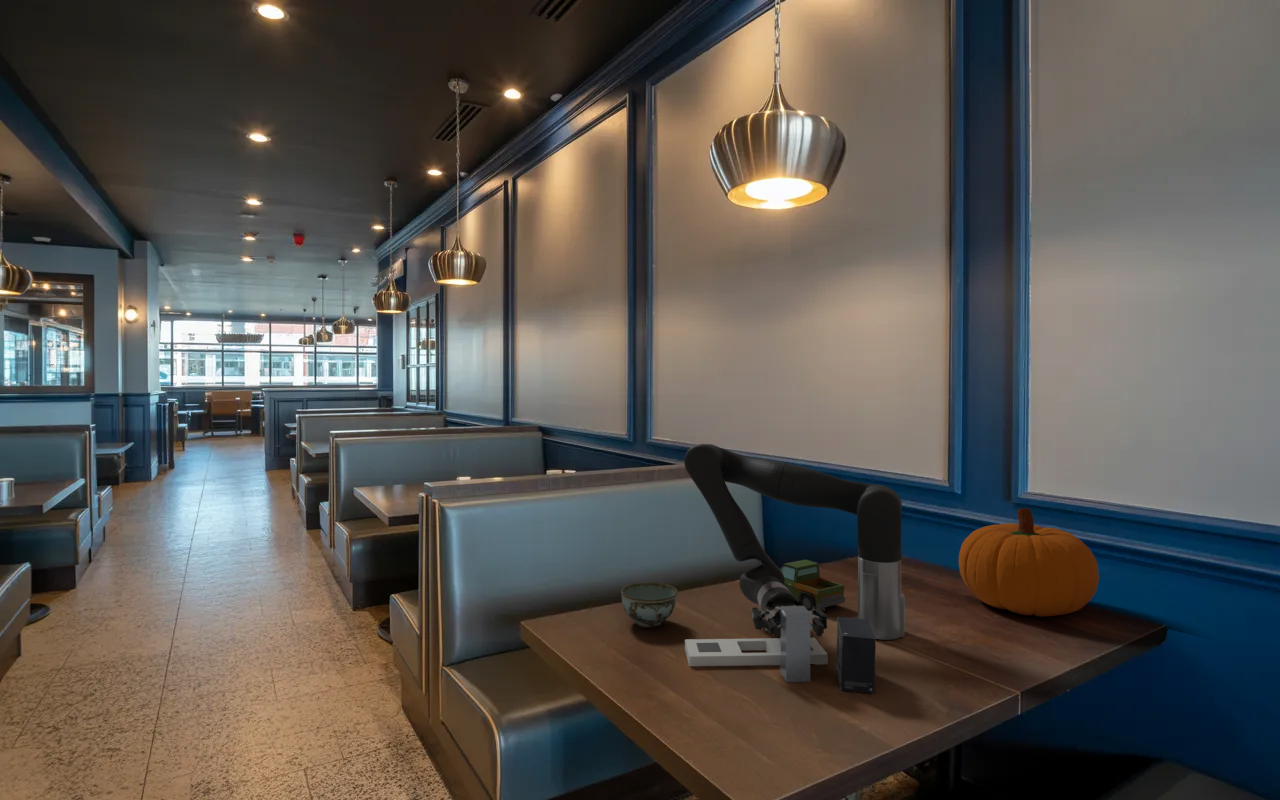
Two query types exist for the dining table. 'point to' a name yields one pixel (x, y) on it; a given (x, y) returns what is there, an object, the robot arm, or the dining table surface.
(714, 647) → the white slotted plate
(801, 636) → the brushed metal pillar
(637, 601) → the bowl
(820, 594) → the toy truck
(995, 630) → the dining table surface
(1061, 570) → the decorative pumpkin
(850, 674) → the small box
